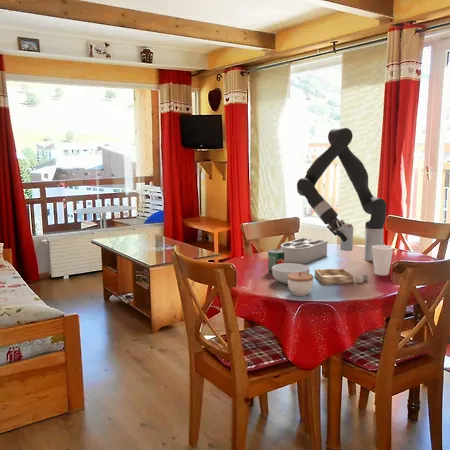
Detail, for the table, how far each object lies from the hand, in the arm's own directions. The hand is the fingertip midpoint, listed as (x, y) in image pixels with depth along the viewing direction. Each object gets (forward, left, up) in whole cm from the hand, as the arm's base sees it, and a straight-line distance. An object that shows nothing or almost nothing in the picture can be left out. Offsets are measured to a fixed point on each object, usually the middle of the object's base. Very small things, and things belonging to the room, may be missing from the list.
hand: (348, 239), depth 219 cm
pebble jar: (+1, -1, -5) cm, 5 cm away
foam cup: (-17, -1, -17) cm, 24 cm away
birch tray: (+8, +6, -17) cm, 20 cm away
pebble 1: (-2, +13, -17) cm, 21 cm away
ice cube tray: (+14, -38, -18) cm, 44 cm away
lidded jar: (+27, +25, -18) cm, 41 cm away
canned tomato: (+32, -9, -17) cm, 38 cm away
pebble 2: (-5, +10, -17) cm, 20 cm away
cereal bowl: (+28, +8, -18) cm, 34 cm away
